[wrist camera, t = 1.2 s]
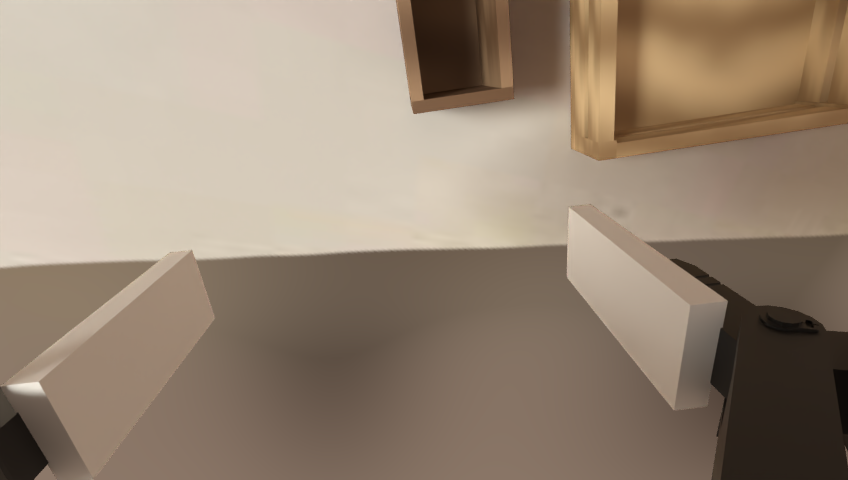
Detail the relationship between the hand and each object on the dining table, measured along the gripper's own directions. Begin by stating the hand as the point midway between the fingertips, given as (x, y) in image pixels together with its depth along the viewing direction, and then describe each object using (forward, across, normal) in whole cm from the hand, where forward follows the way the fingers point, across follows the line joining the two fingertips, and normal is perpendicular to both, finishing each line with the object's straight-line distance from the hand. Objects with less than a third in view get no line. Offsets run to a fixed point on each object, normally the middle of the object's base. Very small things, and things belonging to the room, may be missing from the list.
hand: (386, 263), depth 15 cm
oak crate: (+19, +23, +8) cm, 31 cm away
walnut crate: (+19, +5, +8) cm, 21 cm away
